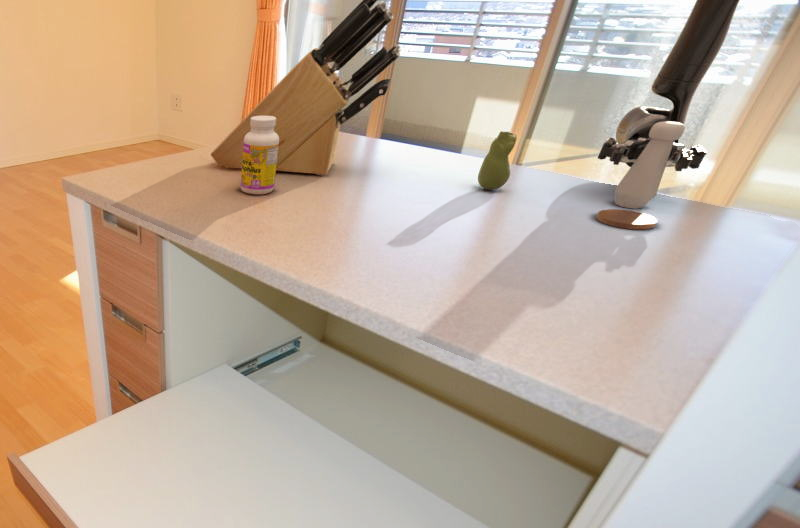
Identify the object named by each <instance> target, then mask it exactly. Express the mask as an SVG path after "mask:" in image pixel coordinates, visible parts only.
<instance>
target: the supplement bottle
mask: <svg viewBox="0 0 800 528" xmlns="http://www.w3.org/2000/svg"><path fill="white" fill-rule="evenodd" d="M250 125H251V131H250V132H249V133H247V134H246V135H245V137H244V144H243V158H242V168H241V173H240V185H239V186H240V187H239V188H240V190H241V192H243V193H245V194H249V195H254V196H255V195H256V196H257V195H258V196H259V195H260V196H262V195H266V194H269V193H271V192H273V190H274V188H275V182H276V172H277V170H276V165H277V155H278V147H279V136H278V134H277V133H275V132H274V127H275V125H276V117H273V116H254V117H251V120H250Z"/></svg>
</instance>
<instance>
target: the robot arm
mask: <svg viewBox="0 0 800 528" xmlns="http://www.w3.org/2000/svg"><path fill="white" fill-rule="evenodd" d="M739 4H740V0H696V1H695V2H694V6H693V8H692V9H691V11H690V13H689V16H688V18H687V20H686V22H685V23H684V25H683V28H682V30H681V31H680V33H679V35H678V37H677V39H676V41H675V43H674V45H673V47H672V48H671V50H670V52H669V54H668V55H667V57H666V59H665V60H664V63H663V64H662V66H661V68H660V69H659V71H658V73H657V75H656V76H655V79H654V80H653V83H652V85H651V91H652V93H653V94H655V95H656V96H659V97H660V98H663V99H666V100H668V101H670V102H671V103H672V107H671V109H667V108H660V107H653V106H643V105H641V106H637V107H634V108H632V109H630V110H629V111H627V113H626V114H624V115H623V117H622V119H621V120H619V123H618V125H617V127H616V131H615V138H614V137H607V138H606V139H605V141H604V143H603V144H602V147H601V149H600V151H599V154H598V155H597V159H599V160H601V161H603V160H606V158H609V159H608V160H609V161H610V162H612V163H613V164H612V165H614V166H615V165H616V166H619V164H620V163H622V164H623V163H624V164H625V165H627V166H628V167H629V168H631V167H632V165H633V164H634V163H635V161H636V160H637V158H638V157H639V156H640V154H641V153H642V152H643V150H644V149H645V147H646V146H647V144H648V143H649V142H650V140H651V139H652V138H650V137H649V132H650V130H651V128H652V127H653V125H654V124H656V123H658V122H663V121H672V122H679V123H682V124H684V125H685V124H686V123H685V122H686V119H687V115H688V111H689V108H690V105H691V102H692V100H693V97H694V96H695V93H696V91H697V89H698V87H699V86H700V84H701V82H702V80H703V79H704V77H705V76H706V74H707V72H708V71H709V69H710V67H711V66H712V64H713V63H714V61H715V59H716V58H717V56H718V54H719V52H720V51H721V48H722V47H723V45H724V43H725V40H726V38H727V35H728V32H729V31H730V27H731V23H732V21H733V18H734V15H735V12H736V10H737V8H738V5H739ZM679 140H680V139H678V140H674V143H673V146H672V149H671V152H670V155H669V158H668V161H667V164H666V167H665V168H674V171H675V172H682V170H687V169H688V168H690V169H691V170H692V169H693V170H694V169H695V170H696V169H699V168H700V166H701V164H702V161H704V160H703V159H704V158H705V156H706V155H707V153H708V151H707V150H706V148H705V147H704V146H703V145H701V144H696V145H695V144H694V145H693V146H690V148H689V149H687V148H685V145H684V144H682V143H679Z"/></svg>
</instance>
